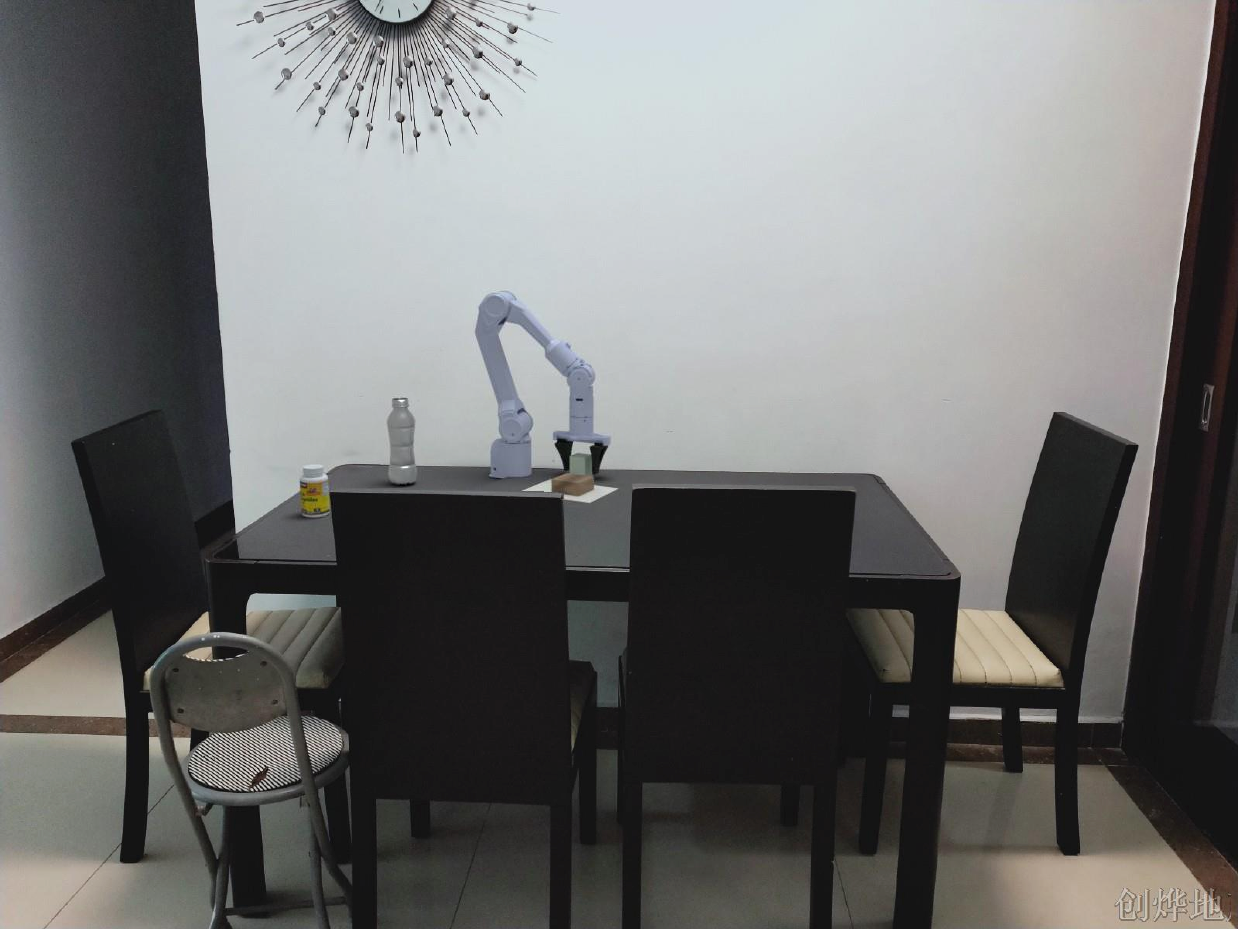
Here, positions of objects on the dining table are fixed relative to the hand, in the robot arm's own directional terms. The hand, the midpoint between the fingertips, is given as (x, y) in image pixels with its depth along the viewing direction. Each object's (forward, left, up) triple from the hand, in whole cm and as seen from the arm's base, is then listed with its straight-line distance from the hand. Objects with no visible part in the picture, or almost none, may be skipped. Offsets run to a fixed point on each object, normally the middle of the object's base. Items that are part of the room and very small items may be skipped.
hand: (581, 471), depth 226 cm
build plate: (+4, -13, -2) cm, 14 cm away
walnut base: (+5, -13, -1) cm, 14 cm away
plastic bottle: (-34, -24, -2) cm, 42 cm away
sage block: (0, 0, -2) cm, 2 cm away
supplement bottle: (-33, -53, -2) cm, 63 cm away
